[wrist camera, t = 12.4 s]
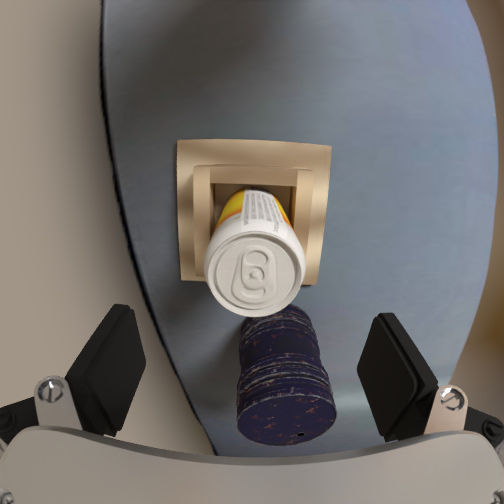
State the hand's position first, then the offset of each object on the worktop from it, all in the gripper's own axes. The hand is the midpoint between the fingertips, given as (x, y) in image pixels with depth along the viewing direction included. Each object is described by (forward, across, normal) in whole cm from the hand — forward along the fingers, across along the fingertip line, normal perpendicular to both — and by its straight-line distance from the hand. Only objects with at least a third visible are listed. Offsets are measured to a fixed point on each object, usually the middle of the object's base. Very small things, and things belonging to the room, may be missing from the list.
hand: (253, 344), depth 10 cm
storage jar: (+22, -4, +17) cm, 28 cm away
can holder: (+22, 0, +1) cm, 22 cm away
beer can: (+21, 0, 0) cm, 21 cm away
